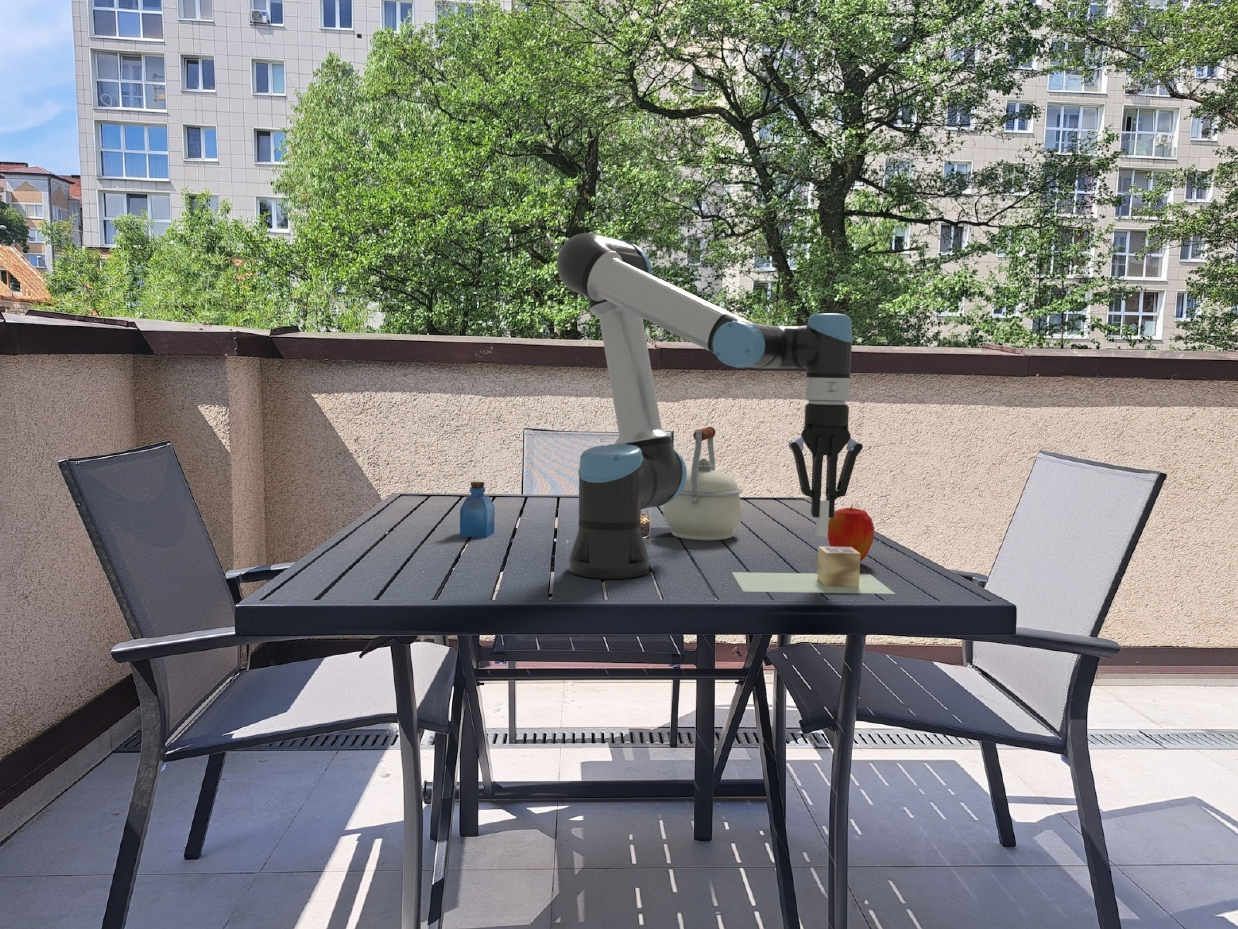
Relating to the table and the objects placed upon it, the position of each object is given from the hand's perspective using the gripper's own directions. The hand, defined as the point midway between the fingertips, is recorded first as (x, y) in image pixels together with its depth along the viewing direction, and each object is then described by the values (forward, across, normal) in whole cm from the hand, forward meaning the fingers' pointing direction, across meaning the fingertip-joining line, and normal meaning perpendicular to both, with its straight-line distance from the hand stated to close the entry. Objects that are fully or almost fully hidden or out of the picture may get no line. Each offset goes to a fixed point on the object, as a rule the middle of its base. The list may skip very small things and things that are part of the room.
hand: (821, 535), depth 162 cm
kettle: (+9, -16, +50) cm, 53 cm away
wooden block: (+3, +3, 0) cm, 4 cm away
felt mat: (+9, -2, 0) cm, 9 cm away
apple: (+9, +10, +19) cm, 23 cm away
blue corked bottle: (+9, -68, +45) cm, 82 cm away
